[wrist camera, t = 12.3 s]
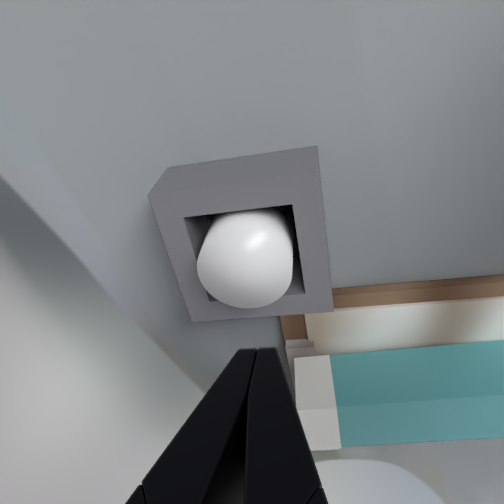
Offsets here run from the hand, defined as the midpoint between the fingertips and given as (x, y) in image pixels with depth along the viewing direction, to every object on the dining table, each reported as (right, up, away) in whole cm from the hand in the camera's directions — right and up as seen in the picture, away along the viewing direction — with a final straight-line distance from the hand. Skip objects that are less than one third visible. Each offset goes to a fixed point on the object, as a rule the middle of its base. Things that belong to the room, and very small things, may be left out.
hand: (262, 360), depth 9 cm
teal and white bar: (+9, -4, +14) cm, 18 cm away
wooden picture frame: (+9, -4, +15) cm, 18 cm away
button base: (0, +4, +11) cm, 12 cm away
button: (0, +3, +10) cm, 11 cm away
